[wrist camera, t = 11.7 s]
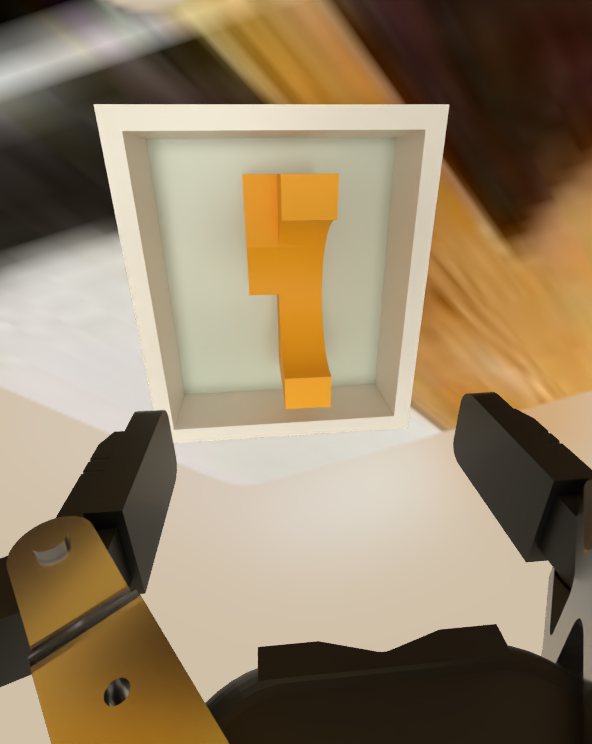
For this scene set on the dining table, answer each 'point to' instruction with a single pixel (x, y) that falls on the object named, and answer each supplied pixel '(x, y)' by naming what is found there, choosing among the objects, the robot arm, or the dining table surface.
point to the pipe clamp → (293, 272)
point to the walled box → (230, 267)
